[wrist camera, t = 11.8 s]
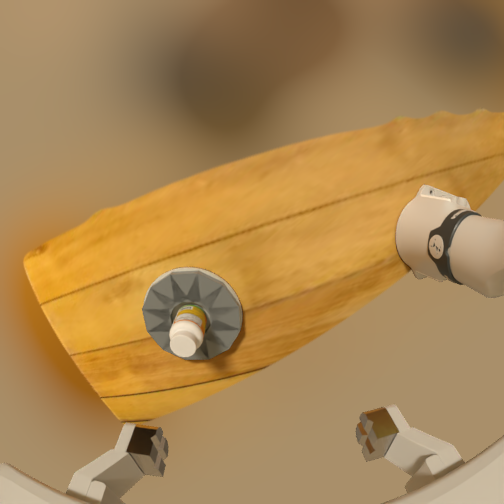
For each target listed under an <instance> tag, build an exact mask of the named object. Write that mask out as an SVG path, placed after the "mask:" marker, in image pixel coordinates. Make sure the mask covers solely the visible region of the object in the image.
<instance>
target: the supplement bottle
mask: <svg viewBox="0 0 504 504" xmlns="http://www.w3.org/2000/svg"><path fill="white" fill-rule="evenodd" d="M206 323H207V315H206V313H205V311H204V310H203V309H202V308H201V307H199V306H198V305H195V304H187V305H184V306H182V307H181V308H180V309H179V311H178V313H177V315H176V317H175V320H174V322H173V324H172V327H171V329H170V333H169V336H170V340H171V341H170V348H171V350H172V351H173V353H175V354H176V355H178V356H180V357H190V356H192V355H193V354H194V353H195V351H196V349H197V348H199V347H200V346H201V344H202V342H203V338H204V333H205V328H206Z"/></svg>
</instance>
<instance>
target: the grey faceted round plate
mask: <svg viewBox="0 0 504 504" xmlns="http://www.w3.org/2000/svg"><path fill="white" fill-rule="evenodd" d="M187 304H195V305H198V306H199V307H201V308H202V309H203V310H204V311H205V313H206V315H207V323H206V328H205V333H204V338H203V342H202V344H201V346H200V347H199V348H197V349H196V351H195V353H194V354H193V355H192V356H190V357H180V356H178V355H176V354H175V353H173V351H172V350H171V348H170V341H171V340H170V336H169V333H170V329H171V327H172V324H173V322H174V320H175V317H176V315H177V313H178V311H179V309H180V308H181V307H182V306H184V305H187ZM142 311H143V315H144V320H145V324H146V329H147V332H148V333H149V334H150V335H151V337H152V338H153V339H154V340H155V341H156V342H157V344H158V345H159V346H160V347H161V348H162V349H163V350H165V351H167V352H169V353H171V354H174V355H176V356H178V357H180V358H183V359H185V360H205V359H211V358H213V357H215V356H217V355H219V354H221V353H222V352H224V351H226V350H228V349H229V348H230V347H231V345H232V343H233V342H234V340H235V339H236V338H237V336H238V334H239V332H240V329H241V326H242V307H241V304H240V300H239V298H238V296H237V294H236V293H235V291H234V289H233V288H232V287H231V286H230V285H229V284H228V283H227V282H226V281H225V280H224V279H223V278H221V277H220V276H218V275H217V274H215V273H213V272H211V271H208V270H206V269H202V268H197V267H180V268H175V269H172V270H170V271H167V272H165V273H164V274H162V275H161V276H159V277H158V278H157V279H156V280H155V281H154V282H153V283H152V285H151V286H150V288H149V289H148V291H147V293H146V296H145V299H144V306H143V308H142Z"/></svg>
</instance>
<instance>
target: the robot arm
mask: <svg viewBox="0 0 504 504" xmlns="http://www.w3.org/2000/svg"><path fill="white" fill-rule="evenodd" d="M396 245H397V250H398V252H399V255H400V257H401V258H402V260H403V261H404V262H405V263H406V264H407V265H409V266H410V267H411V269H412V271H413V273H414V275H415V277H416V278H418V279H423V278H425V277H430V278H432V279H434V280H436V281H439V282H442V281H443V280H447V279H448V280H449V281H451V282H454V283H457V284H460V285H466V286H468V287H469V288H471V289H473V290H475V291H477V292H478V293H480V294H482V295H484V296H486V297H488V298H496V297H500V296H503V295H504V220H499V219H493V218H487V217H482V216H481V215H480V214H478V213H477V212H475V211H473V210H471V209H470V206H469V203H468V202H467V199H465V198H461V197H456V196H454V195H452V194H449V193H447V192H444V191H442V190H439V189H436V188H434V187H431V186H429V185H422V186H421V188H420V189H419V191H418V193H417V196H416V197H415V198H414V199H413V200H411V201H410V202H409V203H408V204H407V205H406V207H405V208H404V209H403V211H402V213H401V215H400V217H399V220H398V223H397V228H396ZM360 421H361V422H360V423H359V424H357V428H356V437H357V440H358V443H359V444H361V445H362V446H363V449H362V453H363V455H364V457H365V460H366V462H367V461H371V460H375V459H378V458H381V457H384V458H385V459H387V460H388V461H390V462H391V463H393V464H394V465H396V466H397V467H399V468H400V469H402V470H403V471H405V472H406V473H408V474H409V475H411V476H412V478H411V479H410V480H409V481H408V482H407V483H406V485H405V488H406V491H407V494H405V495H402V496H400V497H397V498H395V499H392V500H390V501H387V502H384V503H382V504H504V435H503V436H502V437H501V438H499V439H498V440H497V441H496V442H494V443H493V444H492V445H490V446H489V447H488V448H486V449H485V450H483V451H482V452H481V453H479V454H478V455H476V456H475V457H473V458H472V459H470V460H469V461H467V462H466V463H465V462H464V461H463V459H462V458H461V456H460V455H459V453H458V452H457V450H456V449H455V447H454V446H453V445H452V444H450V443H448V442H445V441H443V440H441V439H438V438H436V437H434V436H431V435H429V434H427V433H425V432H422V431H420V430H418V429H416V428H414V427H413V428H410V427H409V425H408V424H407V422H406V420H405V419H404V417H403V416H402V414H401V413H400V411H399V409H398V408H397V406H396V405H395V404H392V405H389V406H386V407H381V408H378V409H374V410H371V411H367V412H363V413H362V414H361V415H360ZM162 435H163V431H162V429H161V427H153V426H146V425H139V424H133V423H126V424H125V425H124V427H123V429H122V431H121V434H120V436H119V439H118V441H117V444H116V447H115V449H114V450H113V449H111V450H109V451H108V452H106V453H105V454H103V455H102V456H100V457H99V458H97V459H96V460H94V461H92V462H91V463H89V464H88V465H86V466H85V467H83V468H81V469H80V470H78V471H76V472H75V473H74V476H73V478H72V480H71V482H70V485H69V487H68V490H67V492H66V494H65V493H63V492H61V491H59V490H56V489H54V488H52V487H50V486H48V485H46V484H44V483H42V482H40V481H38V480H36V479H35V478H32V477H31V476H29V475H27V474H26V473H24V472H22V471H21V470H19V469H17V468H16V467H14V466H12V465H11V464H8V463H3V464H0V504H125V503H124V502H123V501H122V500H121V499H120V498H121V497H122V496H123V495H124V494H125V493H126V492H127V491H128V490H129V489H130V488H132V486H134V485H135V484H136V483H137V482H138V481H139V480H140V479H141V478H142V477H143V476H144V474H145V475H152V476H160V477H163V474H164V470H165V466H166V465H165V463H164V461H163V460H164V459H166V458H167V456H168V442H167V440H166V438H164V437H163V436H162Z"/></svg>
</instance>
